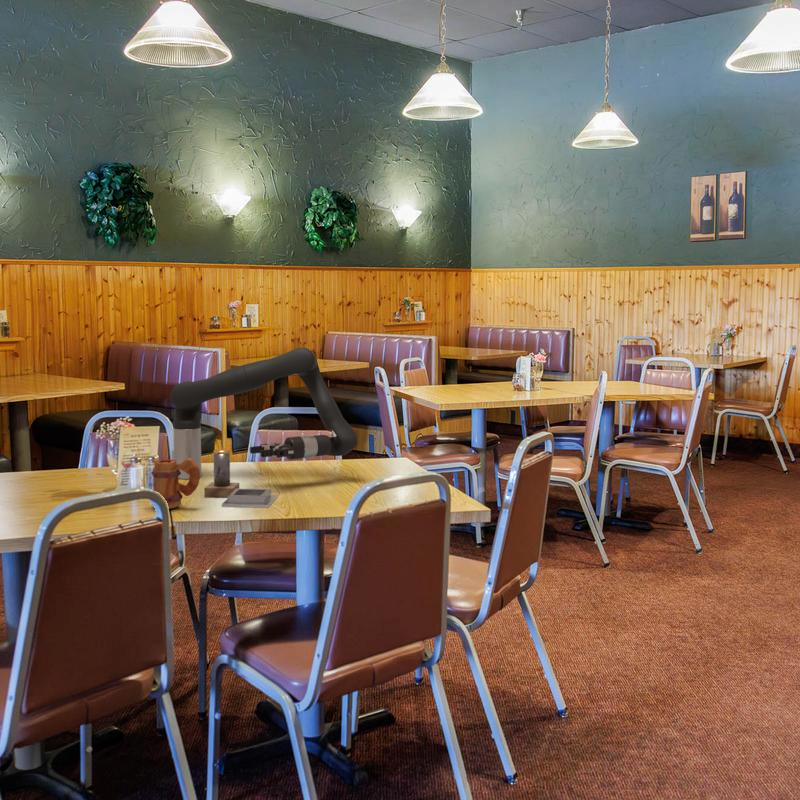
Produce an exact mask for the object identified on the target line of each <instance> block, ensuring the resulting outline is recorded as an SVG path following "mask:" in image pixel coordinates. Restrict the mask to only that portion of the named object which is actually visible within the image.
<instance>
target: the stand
mask: <svg viewBox="0 0 800 800" xmlns="http://www.w3.org/2000/svg"><path fill="white" fill-rule="evenodd" d="M235 489H240V482H230V486H226V487H216V486H214V481H212V482H210V483H208V484H207V485H206V486H205V487H204V489H203V490H204V498H213V499H214V498H217V499H218V498H219V499H221V498H222V499H228V496H229V495H230V494H231V493H232V492H233V491H234V490H235Z"/></svg>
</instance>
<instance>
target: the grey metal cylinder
mask: <svg viewBox="0 0 800 800" xmlns="http://www.w3.org/2000/svg"><path fill="white" fill-rule="evenodd" d="M230 450H231V449H226V448H218V449H217V448H216V449H214V450H213V482H214V486H216V487H226V486H230V483H231V459H230V458H231V457H230V455H231V454H230V452H231V451H230Z"/></svg>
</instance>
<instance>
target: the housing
mask: <svg viewBox="0 0 800 800" xmlns="http://www.w3.org/2000/svg"><path fill="white" fill-rule="evenodd" d="M277 498H278V495H277V494H272V491H271V488H239V489H235V490H234V491H233V492H232V493H231V494H230V495H229V496H228V498H226V499H225V500H224V501H223V502H222V503H221V507H222V508H260V509H261V508H262V509H263V508H266V509H269V507H271V506H272V504H273V503H274V502H275V500H276V499H277Z"/></svg>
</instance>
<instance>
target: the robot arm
mask: <svg viewBox="0 0 800 800" xmlns="http://www.w3.org/2000/svg"><path fill="white" fill-rule="evenodd" d="M294 375H298V376H299V378H300V380H301V381H302V382H303V384H304V385H305V386H306V388H307V391H308V392H309V395H310V396H311V399H312V401H313V404H314V407H315V409H316V411H317V414H318V416H319V418H320V420H321V422H322V423H323V426H324V427H325V429H326V430H327V431H332V432H333V433H334V434H335V435H336V436H328V435H326V434H317V435H316V434H315V435H298V436H288V437H286V438H285V440H284V443H281V442H272V443H270V442H269V443H260V444H259V445H256V446H250V447H249V453H250V454H252V455H254V454H260V457H261V458H270V457H272V458H275V457H276V458H285V457H286V459H287V460H289V461H292V460H293V461H294V460H302V459H310V458H315V457H322V456H331V457H340V456H341V457H342V456H345V455H348V454H349V453H351V452H352V451H353V450H355V449H356V447H357V446H358V443H359V439H358V436H357V433H356V431H355V430H354V429H353V428H352V426H351V425H350V424H349V422H348V421H347V420H346V419H345V418H344V417H343V415H342V413H341V411H340V409H339V407H338V404H337V402H336V401H335V399H334V398H333V396H332V394H331V392H330V391H329V388H328V387H327V385H326V383H325V381H324V378H323V375H322V372H321V370H320V367H319V364H318V358H317V355H315V353H314V352H313V351H312V350H311V349H309V348H307V347H297V348H294V349H292V350H290V351H287V352H285V353H282V354H280V355H277V356H274V357H271V358H265V359H261V360H258V361H253V362H249V363H245V364H242V365H239V366H235V367H232V368H229V369H227V370H224V371H222V372H219V373H217V374H215V375H213V376H210V377H208V378H207V377H206V378H204V379H199V380H195V381H194V380H193V381H189V380H185V381H181V382H180V383H178V384H176V385H175V386H174V387H173V388H172V390H171V392H170V396H169V398H170V401H171V403H172V405H174V417H173V423H172V424H173V426H172V427H173V430H172V431H173V449H172V450H171V457H172V458H171V460H176V462H177V463H182V462H183V461H184V460H186V459H188V458H191V459H193V460H194V461H195V462H196V464H197V465H198V468H199V470H200V478H201V477H202V441H201V440H202V437H201V434H202V431H201V428H202V427H201V426H202V425H201V422H202V415H203V414H202V413H203V409H202V407H203V403H205V402H208V401H211V400H215V399H219V398H224V397H231V396H234V395H239V394H243V393H247V392H249V391H250V392H251V391H254V390H257V389H259V388H261V387H263V386H266V385H268V384H269V383H271V382H273V381H275V380H278V379H279V378H283V377H284V378H285V377H288V376H289V377H290V376H294ZM265 448H266V449H265ZM180 472H181V474H180V475H179V476H178V480H179V479H180V480H181V479H182V480H189V476H190V475H189V474H187V473H186V472H184V471H183V470H180Z"/></svg>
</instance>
